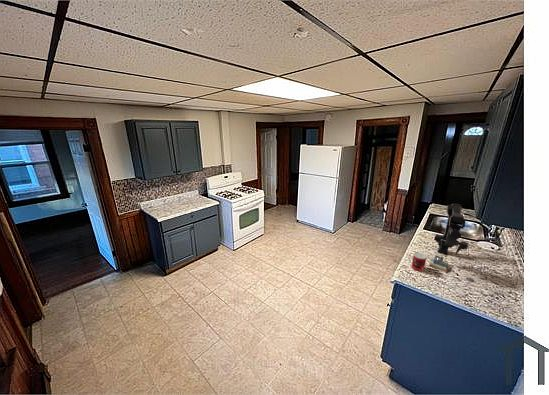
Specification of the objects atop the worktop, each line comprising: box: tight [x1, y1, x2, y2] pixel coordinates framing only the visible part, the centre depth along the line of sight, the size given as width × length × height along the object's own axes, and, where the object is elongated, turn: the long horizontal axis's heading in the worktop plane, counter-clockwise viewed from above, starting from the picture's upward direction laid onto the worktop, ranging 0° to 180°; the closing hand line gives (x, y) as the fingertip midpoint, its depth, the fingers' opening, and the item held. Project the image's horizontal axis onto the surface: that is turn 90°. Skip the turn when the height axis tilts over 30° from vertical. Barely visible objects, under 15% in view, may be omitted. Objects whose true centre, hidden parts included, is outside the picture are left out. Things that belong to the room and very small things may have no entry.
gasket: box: [465, 276, 475, 283], centre depth 147 cm, size 4×4×1 cm
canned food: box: [411, 251, 428, 272], centre depth 157 cm, size 8×8×11 cm
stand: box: [428, 257, 449, 273], centre depth 161 cm, size 10×10×2 cm
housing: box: [433, 254, 444, 266], centre depth 160 cm, size 7×5×4 cm
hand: (447, 251), depth 158 cm, fingers open, 9 cm apart
